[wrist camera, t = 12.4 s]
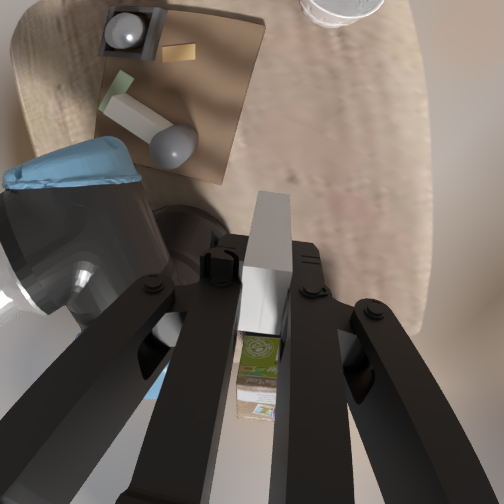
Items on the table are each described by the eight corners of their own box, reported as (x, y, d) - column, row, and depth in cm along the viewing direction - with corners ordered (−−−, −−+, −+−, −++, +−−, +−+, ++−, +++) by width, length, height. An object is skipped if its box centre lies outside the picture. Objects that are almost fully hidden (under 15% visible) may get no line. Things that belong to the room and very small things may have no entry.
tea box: (339, 317, 50) (350, 391, 38) (328, 357, 56) (334, 426, 43) (246, 312, 51) (235, 386, 39) (246, 352, 57) (236, 422, 44)
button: (144, 50, 30) (133, 49, 28) (113, 48, 30) (101, 47, 27) (153, 17, 28) (143, 13, 25) (121, 15, 28) (109, 12, 25)
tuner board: (222, 182, 41) (216, 192, 37) (96, 152, 39) (82, 159, 36) (266, 27, 30) (264, 22, 27) (123, 8, 29) (109, 4, 26)
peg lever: (205, 136, 36) (195, 144, 32) (186, 164, 38) (173, 176, 34) (129, 86, 33) (111, 89, 29) (113, 115, 35) (94, 122, 31)
